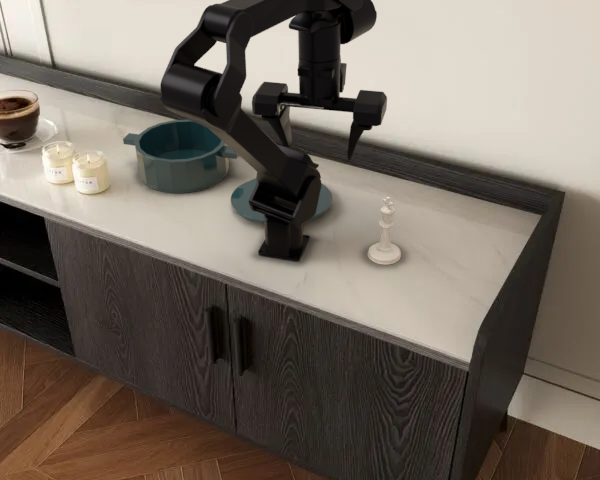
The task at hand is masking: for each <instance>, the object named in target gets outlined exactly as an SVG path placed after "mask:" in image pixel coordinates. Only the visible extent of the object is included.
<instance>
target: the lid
mask: <svg viewBox="0 0 600 480" xmlns="http://www.w3.org/2000/svg"><path fill="white" fill-rule="evenodd" d="M256 183H257V180H256V177H255V178H253V179H250V180H248V181H245V182H243V183H241V184H240V185H238V186H237V187H236V188H235V189H234V190H233V192H232V193H231V196H230V205H231V208H232V209H233V211H234V212H235V213H236V214H237V215H239V216H240V217H242V218H244V219H246V220H248V221H251V222H254V223H258V224H263V225H265V221H264V214H262V213H259V212H257V211H252V210H251V207H250V205H249V199H250V197H251V194H252V192H253V190H254V188H255V186H256ZM332 203H333V194H332V191H331V190H330V188H328V187H327V186H326V185H325V184H324V183H323V182H321V191H320V195H319V200H318V205H317V209H316V214H315V215H314V216H313V217H312V218H310V219H309V220H308V221H307V222H310V221H312V220H314V219H317V218H319V217H321V216H323V215H324V214H325V213H326V212H328V211H329V209H330V208H331V206H332V205H333V204H332Z"/></svg>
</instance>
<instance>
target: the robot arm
mask: <svg viewBox="0 0 600 480" xmlns="http://www.w3.org/2000/svg"><path fill="white" fill-rule="evenodd" d="M291 18H292V19H291ZM377 18H378V13H377V10H376V7H375V5H374V2H373V1H372V0H226V1H224V2H221V3H214V4H210V5H208V6H206V7H205V9H204V10H203V11H202V14H201V17H200V18H199V21H198V23H197V26H196V27H195V28H193V30H192V31H191V32H190V33H188V35H187V36H186V37H185V38H184V39H182V41H181V42H180V43H178V45H176V47H175V48H174V50H173V51H172V55H171V57H170V59H169V60H168V64H167V66H166V68H165V71H164V73H163V75H162V77H161V81H160V94H161V95H160V96H159V97H160V98H159V99H160V101H161V104H162V105H163V107H164V108H165V109H166V110H167V111H169V112H171V113H174V114H175V115H177V116H180V117H182V118H184V119H185V120H191V121H193V122H195V123H198V124H200V125H202V126H205V127H207V128H208V129H210V130H211V131H212V132H213V133H214V134H215V135H216V136H217V137H219V138H220V139H221V140H222V141H223V142H224V143H225V144H227V145H228V146H229V147H230V148H231V149H232V150H233V151H234V152H236V153H237V154H238V155H239V156H238V157H240V158H241V159H242V160H243V161H245V163H247V164H248V165H249V166H250V167H251V168H252V169H254V170H255V172H256V176H255V178H256V180H257V183H256V186H255V188H254V190H253V192H252V194H251V197H250V199H249V205H250V207H251V210H252V211H257V212H259V213H262V214H264V221H265V224H264V240H263V242H262V243H261V246H260V247H259V249H258V251H257V254H258V256H261V257H267V258H272V259H273V258H274V259H278V260H279V259H280V260H286V261H292V262H300V261H301V259H302V257H303V255H304V253H305V251H306V248H307V247H308V244H309V243H310V240H311V236H310V235H308V234H304V224H305V223H307V222H309V221H308V220H309V219H310V218H312V217H313V216H314V215H315V214H316V209H317V205H318V200H319V195H320V191H321V183H322V180H321V178H322V176H321V173H320V171H319V169H318V168H319V165H320V164H318V163H316V162H314V161H313V160H312V158H311V156H310V155H309V154H308V153H306V152H304V151H301V150H298V149H295V148H293V138H292V137H293V135H292V128H291V127H292V126H291V119H290V112H291V108H301V109H310V110H311V109H312V110H320V111H321V110H323V111H333V112H344V113H352V122H351V124H350V128H349V135H348V146H347V155H346V157H347V161H349V162H351V160H352V158H353V155H354V152H355V149H356V147H357V144H358V142H359V140H360V138H361V137H362V135H363V133H364V132H365V131H372V128H373V127H378V126H381V125H382V123H383V120H384V117H385V114H386V111H387V106H388V97H387V95H386V93H385V92H384V91H378V90H368V89H367V90H365V89H360V90H359V91H358V93H357V95H356V97H344V96H340V93H341V94H342V93H343V92H344V90H345V85H346V78H347V62H346V63H345V62H342V58H341V45H346V44H348V43H351V42H352V41H354V40H356V39H357V38H359V37H361V36H363V35H364V34H366V33H368V32H370V31H371V30H372V29H373V27H375V24H376V22H377ZM289 19H291V20H290V21H289V23H288V29H290V30H292V31H297V35H298V37H297V39H298V40H297V41H298V42H297V43H298V44H297V45H298V65H297V77H298V91H299V92H298V93H297V92H289V86H288V84H287V83H283V82H273V81H263V82H262V83H261V84H260V85H259V87H258V88H257V90H255V92H254V94H253V96H252V99H251V109H252V110H251V111H252V114H253V115H255V116H261V120H262V121H265V122H268V124H269V125H270V127H271V128H272V130H273V131H274V132H275V134H276V136H277V137H278V139H279V141H280V143H281V144H280V143H278V142H276V141H274V140H273V139H272V138H271V137H270V136H269V135H268V134H267V133H266V132H265V131H264V130H263V128H261V127H260V126H259V125H258V124H257V123H256V122H255V121H254V119H252V118H251V117H250V116H249V115H248V114H247V113H246V112H245V111H244V110H243V109H242V105H243V104H242V103H243V102H242V101H243V96H242V94H241V91H242V89H243V86H244V84H245V81H246V80H247V58H246V57H247V56H246V50H247V48H248V45H249V43H250V40H251V38H253V37H256V36H257V35H260V34H261V33H264V32H265V31H267V30H269V29H272V28H274V27H275V26H277V25H279V24H282V23H284V22H285V21H288V20H289ZM217 42H220V43H222V44H225V50H226V53H225V54H226V65H225V67H224V69H223V71H222V73H221V72H219V71H215V70H212V69H208V68H204V67H201V66H197V65H196V63H197V62H198V61H200V59H202V58H203V57H204V56H205V55H206V54H207V53H209V51H210V50H211V49H212V48H213V47H214V46H215V45H216V44H217Z"/></svg>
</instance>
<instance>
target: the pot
mask: <svg viewBox="0 0 600 480" xmlns="http://www.w3.org/2000/svg"><path fill="white" fill-rule="evenodd" d="M122 142H123V145H127V146H134V148H135V154H136V160H137V166H138V173H139V178H140V180H141V182H142V183H143V184H144V185H146V186H147V187H149V188H151V189H152V190H155V191H158V192H162V193H168V194H189V193H196V192H200V191H203V190H206V189H210V188H212V187H214V186H216V185H217V184H219V183H220V182H222V181H223V180H224V179H225V178H226V177H227V176H228V173H229V168H230V160H229V159H232V160H237V159H238V158H239V157H240V156H239V155H238V154H237V153H236V152H234V151H233V150H232V149H231V148H230V147H229V146H228V145H227V144H225V143H224V142H223V141H222V140H221V139H220V138H219V137H217V136H216V135H215V134H214V133H213V132H212V131H211V130H210V129H208V128H207V127H205V126H202V125H200V124H198V123H195V122H193V121H191V120H188V119H174V120H169V121H164V122H163V121H162V122H159V123H157V124H154V125H151V126H149V127H147V128H146V129H144V130H143V131H142V132H140V133H131V132H129V133H127V135H126V136H124V138H122Z"/></svg>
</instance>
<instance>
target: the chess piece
mask: <svg viewBox="0 0 600 480" xmlns="http://www.w3.org/2000/svg"><path fill="white" fill-rule="evenodd" d="M391 198H392V197H390V196H389V195H388V196H386V198H383V199H382V203H384V204H385V205H383V206H382V207H381V208H380V214H381V218H382V219H381V220H380V221H379V222H378V225H379V227H380V228H382V230H381V236H380V240H379V242H376V243H374V244H372V245H371V246H369V248H368V251H367V257H368V259H369V260H370V261H371V262H372V263H375V264H378V265H385V266H387V265H392V264H396V263H397V262H399V261H400V259H401V257H402V253H401V249H400V248H399V247H398V245H396V244H394V243H392V242H391V230H390V229H391V228H393V227H394V226H395V223H394V221H393V220H392V218H393V216H394V214H395V210H396V209H395V208H394V202H392V200H391Z"/></svg>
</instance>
